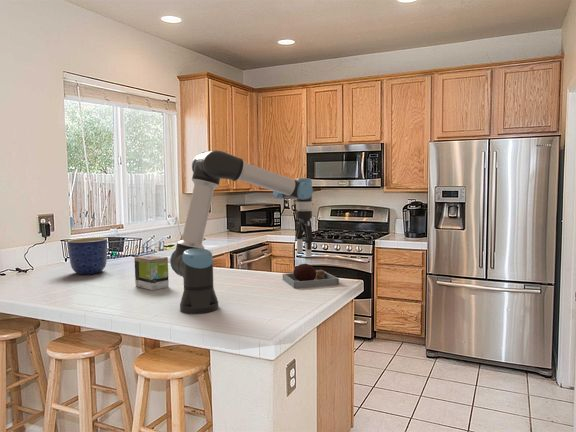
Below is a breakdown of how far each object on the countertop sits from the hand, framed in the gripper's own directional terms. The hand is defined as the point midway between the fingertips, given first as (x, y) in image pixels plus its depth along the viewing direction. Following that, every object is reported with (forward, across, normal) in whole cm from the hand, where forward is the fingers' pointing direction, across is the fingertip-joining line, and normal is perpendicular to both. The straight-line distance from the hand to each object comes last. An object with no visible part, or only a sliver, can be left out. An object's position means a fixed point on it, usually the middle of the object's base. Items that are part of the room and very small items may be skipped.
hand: (304, 254), depth 227 cm
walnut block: (+14, +6, -10) cm, 18 cm away
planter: (+16, +70, +105) cm, 127 cm away
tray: (+14, 0, -3) cm, 15 cm away
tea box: (+16, +21, +71) cm, 76 cm away
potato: (+14, 0, -1) cm, 14 cm away
